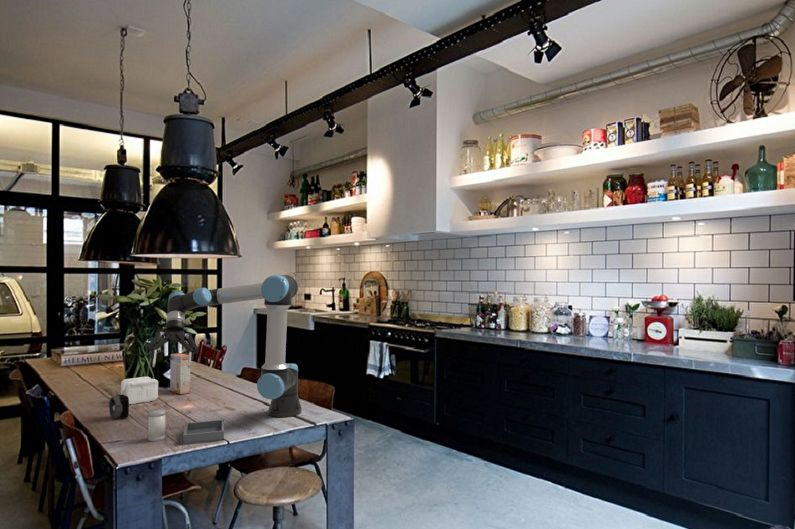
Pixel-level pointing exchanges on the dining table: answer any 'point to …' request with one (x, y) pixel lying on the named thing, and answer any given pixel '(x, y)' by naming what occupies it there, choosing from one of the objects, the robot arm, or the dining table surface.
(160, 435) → the grey lidded jar
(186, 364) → the cracker box
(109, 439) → the dining table surface
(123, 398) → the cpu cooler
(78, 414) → the dining table surface
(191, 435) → the parts tray
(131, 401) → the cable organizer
